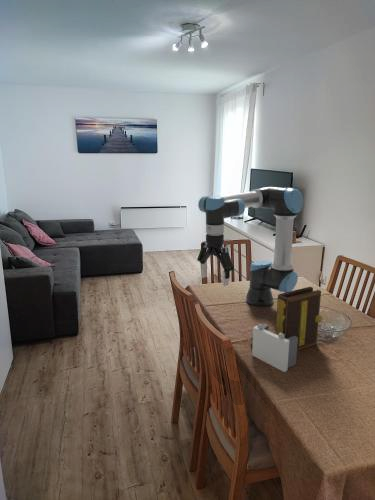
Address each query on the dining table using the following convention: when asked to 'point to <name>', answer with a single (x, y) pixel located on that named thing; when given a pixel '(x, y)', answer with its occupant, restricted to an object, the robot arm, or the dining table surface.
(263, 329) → the carcass
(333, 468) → the dining table surface
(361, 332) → the dining table surface
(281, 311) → the book
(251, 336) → the hinge block
